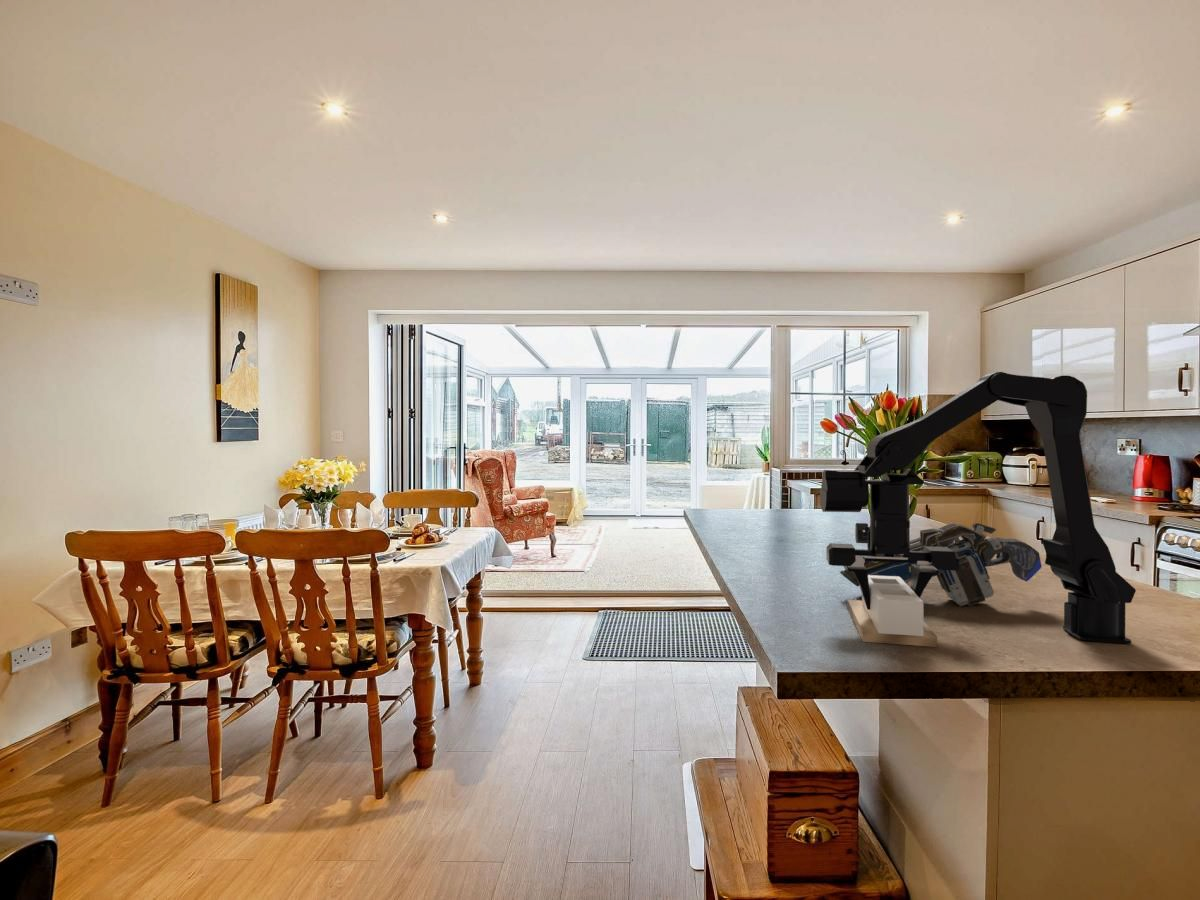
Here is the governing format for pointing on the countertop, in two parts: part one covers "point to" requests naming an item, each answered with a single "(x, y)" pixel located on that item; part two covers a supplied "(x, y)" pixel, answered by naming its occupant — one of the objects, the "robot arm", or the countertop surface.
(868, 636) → the mounting board
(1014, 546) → the firearm
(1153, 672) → the countertop surface
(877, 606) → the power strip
